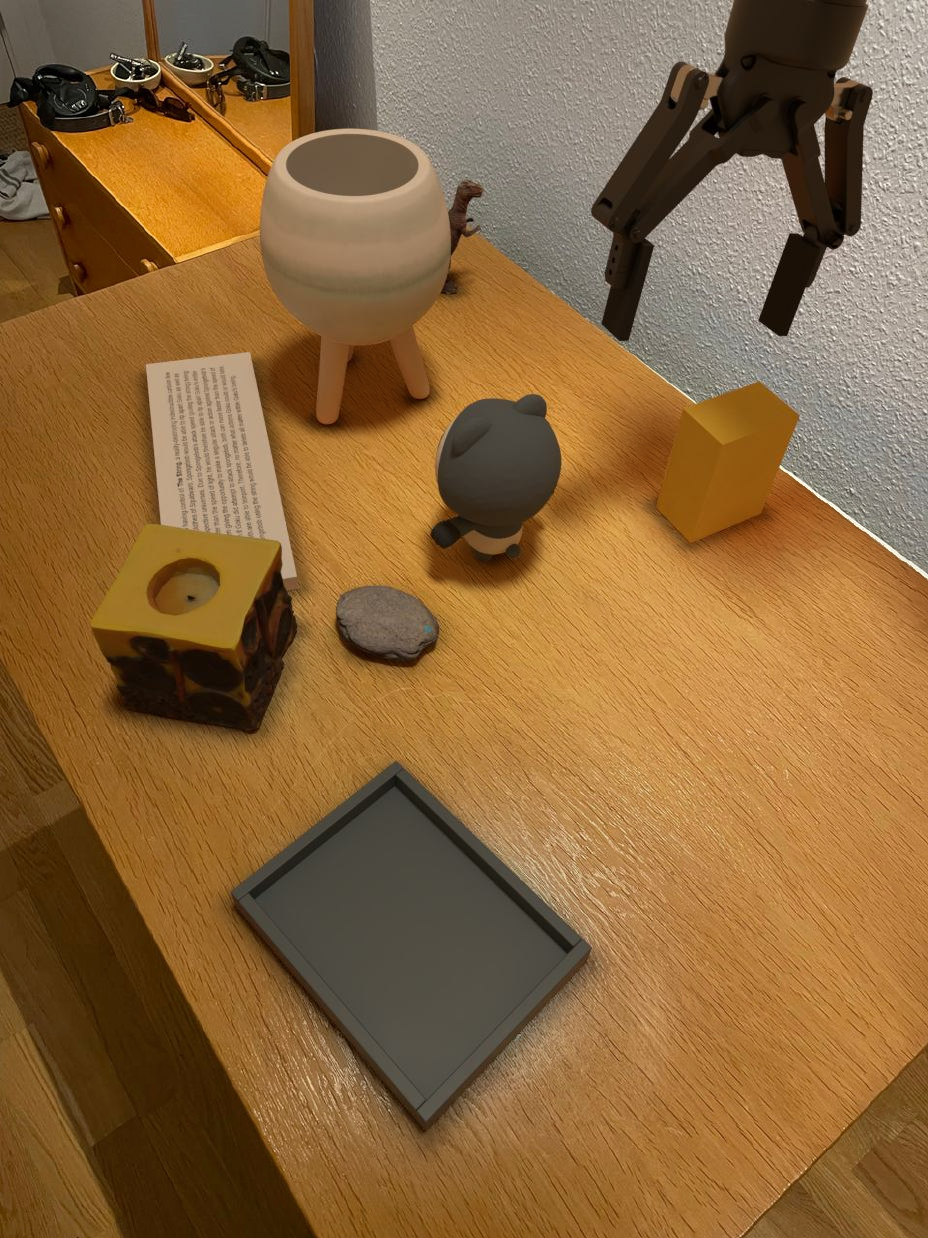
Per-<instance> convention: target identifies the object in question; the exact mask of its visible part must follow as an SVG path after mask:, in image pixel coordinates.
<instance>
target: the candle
mask: <svg viewBox="0 0 928 1238" xmlns="http://www.w3.org/2000/svg"><path fill="white" fill-rule="evenodd" d="M282 565H283V564H282V546H281V543H280V542H279V541H276V540H268V539H260V538H252V537H244V536H236V535H227V534H219V533H211V532H204V531H197V530H190V529H184V528H178V527H172V526H166V525H161V523H160V524H158V523H148V522H147V523H145V525H144V526H143V528H142V529H141V531H140V532H139V534H138V536H137V538H136V540H135V542H134V544H133V546H132V548H131V549H130V551H129V554H128V556H127V558H126V559H125V561H124V562H123V565H122V567H121V569H120V571H119V572H118V574H117V576H116V577H115V579H114V581H113V583H112V584H111V586H110V587H109V589H108V590H107V591H106V594H105V596H104V598H103V599H102V601H101V602H100V605H99V606H98V608H97V610H96V611H95V613H94V615H93V616H92V618H91V620H90V626H91V632H92V635H93V637H94V639H95V641H96V643H97V645H98V648H99V650H100V651H101V653H102V656H103V657H104V658H105V660H106V662H107V663H109V665H110V671H112V673H113V674H114V677H115V678H116V682H117V684H116V688H117V691H118V693H119V694H120V696H121V697H122V699H123V701H124V706H125V707H127V708H128V709H130V710H134V711H138V712H143V713H150V714H152V715H155V716H168V717H169V718H176V719H180V720H182V719H184V720H187V721H190V722H199V723H201V724H214V725H220V726H224V727H229V728H234V729H242V730H244V731H245V732H249V731H253V730H256V729H259V727H260V726H261V723H262V720H263V718H264V715H265V712H266V710H267V708H268V705H269V702H270V701H271V700H272V696H273V694H274V693H275V689H276V685H277V682H278V681H279V680H280V677H281V674H282V672H283V670H282V668H283V667H284V666H285V661H283V655H284V653H285V652H286V650H287V649H288V646H289V645H290V643H291V642H292V641H293V640H294V639H295V636H296V634H297V630H298V627H299V626H298V623H297V619H296V615H294V614H295V610H293V604H292V603H293V602H292V601H293V598H292V597H291V595H289V592H288V591H287V590H286V587H285V585H284V583H283V579H282V574H281V569H282Z"/></svg>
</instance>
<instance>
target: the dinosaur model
mask: <svg viewBox="0 0 928 1238" xmlns="http://www.w3.org/2000/svg"><path fill="white" fill-rule="evenodd" d="M455 192H456V193H455V195H454V199H453V204H452V206H451V208H450V209H448V216H449V223H450V234H451V254H450V263H449V269H448V272H449V271H450V269H451V265H452V255H453V254H454V252H455V251H456V250H457V247H458V246H459V242H460V239H461V237H462V235H463V237H465V238H469V237H471V236H473V235H474V234H475V233H477V232H479V231H482V228H481V225H480V224H477V225H476V226H475V227H474V228H473V229H472V230H467V224H468V223H472V222H475V220H474V218H473V217H469V218H466V216H467V214H468V213H467V212H468V206H469V204H470V202H471V201H472V199H474V198H477V199H479V198H482V197H483V193H484V192H485V189H484V186H483V185H481V184H478V183H476V182H473V180H472V179H463V180H462V181H461V182H460V183H458V185H457V187H456V191H455ZM452 280H453V278H452V277H451V275H450V274H449V273H448V274H447V278H446V281H445V283H444V286H443V289H442V291H441V293H446V294H449V295H450V294H452V295H453V294H457V293H458V289H459V286H458V285H457V284H456V283H455V282H453V281H452Z"/></svg>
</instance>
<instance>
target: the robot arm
mask: <svg viewBox="0 0 928 1238" xmlns="http://www.w3.org/2000/svg"><path fill="white" fill-rule="evenodd" d="M731 6H732V7H731V9H730V12H729V17H728V21H727V23H726V24H727V25H726V27H725V32H724V55H723V58H722V60H721V63H720V64H719V66H718V68H717V69H716V70H715V72H714V73H712V72H708V71H704V70H703V69H700V68H698V67H696V66H694V65H692V64H690V63H687V62H685V61H683V60H682V61H678V62H675V64H674V65H673V66H672V68H671V70H670V73H669V75H668V78H667V82H666V83H665V87H664V90H663V93H662V96H661V99H660V101H659V102H658V104H657V106H656V107H655V109H654V111H653V112H652V113H651V115H650V117H649V118H648V120H646V121H647V122H645V124H644V126H643V127H642V129H641V131H640V132H639V134H638V135H637V137H636V138H635V139H634V141H633V142H632V144H631V145H630V147H629V148H628V151H627V152H626V153H625V154H624V156H623V158H622V159H621V161H620V162H619V164H618V166H617V167H616V168H615V170H614V172H613V173H612V174H611V176H610V178H609V179H608V181H607V182H606V183H605V186H604V187H603V189H602V190H601V191H600V193H599V195H598V196H597V198H596V199H595V201H594V202H593V204H592V206H591V208H590V209H591V210H590V213H591V216H592V218H593V219H595V220H596V221H597V222H598V223H600V224H601V225H602V226H603V227H604V228H606V229H608V231H610V232H611V233H612V234H613V235H612V240H611V245H610V248H609V253H608V258H607V261H606V265H605V269H604V273H603V274H604V281H605V282H606V283H607V284H608V285H610V287H609V292H608V296H607V299H606V303H605V307H604V312H603V314H602V319H601V323H600V324H601V325H602V326H603V328H605V330H607V331H608V333H610V334H611V335H612V336H613V337H614V338H615V339H616V340H617V341H618V342H629V341H630V337H631V334H632V330H633V326H634V323H635V318H636V315H637V311H638V308H639V304H640V300H641V297H642V294H643V293H642V292H643V289H644V286H645V282H646V278H647V275H648V271H649V267H650V263H651V259H652V257H653V253H654V250H655V249H654V248H655V245H654V244H653V243H652V242H651V241H650V240H648V239H647V237H649V235H650V234H651V233H652V232H653V231H654V230H655V229H656V228H657V227H658V226H659V225H660V224H661V223H662V222H663V220H664V219H666V217H667V216H669V215H670V214H671V213H672V211H673V210H675V208H677V206H679V204H681V202H683V201H684V199H685V198H686V197H687V196H688V195H689V194H690V193H691V192H693V190H694V189H695V188H696V187H697V186H698V185H700V184H701V182H702V181H703V180H704V179H705V178H706V177H707V176H708V175H709V174H710V173H711V172H712V171H713V170H714V169H715V168H716V167H717V166H719V165H723V164H725V163H727V162H729V161H730V160H731V159H732V158H733V157H734V156H735V155H738V156H740V157H742V158H754V157H758V156H762V155H763V156H766V157H768V158H770V159H774V160H775V159H777V160H781V164H782V166H783V170H784V174H785V178H786V181H787V184H788V188H789V192H790V195H791V198H792V201H793V205H794V208H795V212H796V216H797V219H798V222H799V225H800V229H801V231H802V233H803V234H802V235H801V234H800V233H798V232H797V233H796V232H794V233H793V232H789V234H788V236H787V239H786V242H785V245H784V247H783V250H782V253H781V255H780V259H779V261H778V264H777V267H776V270H775V271H774V272H775V273H774V275H773V278H772V281H771V283H770V286H769V289H768V292H767V295H766V298H765V300H764V303H763V305H762V307H761V311H760V313H759V316H758V322H759V323H760V324H762V325H763V326H765V328H767V329H769V330H770V331H771V332H772V333H774V335H776V336H777V337H788V336H789V333H790V329H791V328H792V325H793V322H794V319H795V318H796V317H795V316H796V314H797V311H798V309H799V307H800V303H801V301H802V299H803V296H804V293H805V291H806V289H808V288H811V286H812V284H813V283H814V282H815V279H816V277H817V273H818V272H819V269H820V266H821V264H822V261H823V259H824V256H825V253H826V251H827V250H828V249H830V250H832V251H834V250H838V249H839V248H841V246H842V244H843V243H844V240H845V236H847V237H854V236H855V235H857V233H858V232H859V231H860V229H861V226H862V205H863V204H862V202H863V167H864V133H865V132H864V131H865V129H864V128H865V123H866V119H867V116H868V112H869V109H870V106H871V103H872V98H873V96H874V91H873V89H872V87H871V86H868V85H866V84H865V83H861V82H859V81H856V80H853V79H852V78H849V77H845V76H841V77H839V78H838V79H837V80H836V75H837V72H838V71H840V70H842V69H843V68H845V67H846V66H847V64H849V62H850V59H851V56H852V54H853V52H854V47H855V45H856V42H857V40H858V37H859V34H860V31H861V28H862V26H863V23H864V20H865V17H866V14H867V11H868V10H869V9H868V8H869V5H868V4H867V0H733V3H732V5H731ZM835 80H836V81H835ZM709 101H710V102H709ZM709 103H710V107H711V109H710V110H709V111H708V112H707V113H706V114H705V115H704V116H703V117H702V118H701V119H700V120H699V121H698V123H696V124H695V126H693V124H694V122H695V120H696V118H697V116H698V114H699V112H700V111H702V110H706V109H707V108H708V106H709ZM824 115H825V120H824V136H823V137H824V139H823V140H824V141H823V143H824V148H823V149H824V174H823V171H822V166H821V163H820V159H819V157H820V156H821V155H822V151H821V147H820V142H819V138H818V134H817V131H816V127H815V124H816V123H817V122H818V121H819V120H820V119H821V118H822V117H823V116H824ZM692 126H693V127H692ZM690 129H691V130H690ZM689 130H690V131H689ZM688 132H689V134H688ZM687 134H688V138H687V140H686V141H685V142H684V143H683V144H682V145H681V146H680V144H681V142H683V139H684V138H685V136H686V135H687ZM715 135H718V137H717V136H715ZM679 146H680V147H679ZM678 147H679V148H678ZM676 150H677V151H676ZM827 248H828V249H827Z"/></svg>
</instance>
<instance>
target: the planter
mask: <svg viewBox="0 0 928 1238" xmlns="http://www.w3.org/2000/svg"><path fill="white" fill-rule="evenodd" d="M448 211H449V209H448V206H447V202H446V197H445V194H444V191H443V187H442V185H441V181H440V179H439V176H438V173H437V172H436V169H435V167H434V165H433V164H432V161H431V160H430V158H429V157H428V155H427V153H425V151H423V150H422V148H420V146H418V145H417V144H415V143H413V142H412V141H410V140H408V139H406V138H404V137H401V136H399V135H396V134H393V133H389V132H385V131H380V130H373V129H368V128H367V129H366V128H336V129H327V130H321V131H317V132H313V133H309V134H307V135H304V136H303V135H302V136H301V137H298V138H297V139H294V140H293V141H291V142H289V143H288V144H286V145H284V147H282V149H280V151H278V154H276V156H275V157H274V160H273V162H272V164H271V166H270V169H269V171H268V174H267V177H266V181H265V185H264V189H263V193H262V198H261V205H260V214H259V244H260V245H259V246H260V253H261V260H262V264H263V268H264V271H265V275H266V278H267V280H268V283H269V285H270V287H271V289H272V291H273V292H274V294H275V296H276V298H277V299H278V301H279V302H280V304H281V305H282V306H283V307H284V308H285V309H286V310H287V311H288V313H289V314H290V315H291V316H292V317H294V318H295V319H296V320H297V321H298V322H299V323H301V324H302V325H304V326H305V327H307V328H308V329H309V330H311V331H313V332H314V333H315V334H316V335H318V336H320V337H321V338H320V339H321V340H320V354H319V355H320V356H319V367H318V383H317V392H316V407H315V409H316V410H315V417H316V419H317V421H318V422H319V423H321V424H322V425H332V424H334V423H336V421H338V419H339V416H340V409H341V402H342V398H343V391H344V386H345V379H346V373H347V368H348V362H350V361H351V360H352V358H353V353H354V347H355V346H371V345H377V344H381V343H386V342H389V344H390V347H391V349H392V352H393V356H394V357H395V360H396V363H397V365H398V368H399V370H400V373H401V376H402V378H403V380H404V382H405V383H404V384H405V385H406V388H407V391H408V393H409V395H410V396H411V397H412V398H413V399H416V400H423V399H425V398H427V397H428V396H429V395H430V393H431V387H430V382H429V378H428V375H427V371H426V368H425V365H424V361H423V358H422V355H421V351H420V347H419V343H418V340H417V336H416V332H415V328H414V325H415V324H417V323H418V322H419V321H420V320H421V319H422V318H424V316H425V315H426V314H427V313H428V312H429V311H430V310H431V308H432V307H433V306H434V304H435V303H436V301H437V300H438V298H439V296H440V295H441V293H442V289H443V286H444V283H445V281H446V278H447V274H449V271H448V269H449V263H450V254H451V234H450V223H449V216H448ZM449 270H450V269H449Z"/></svg>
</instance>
